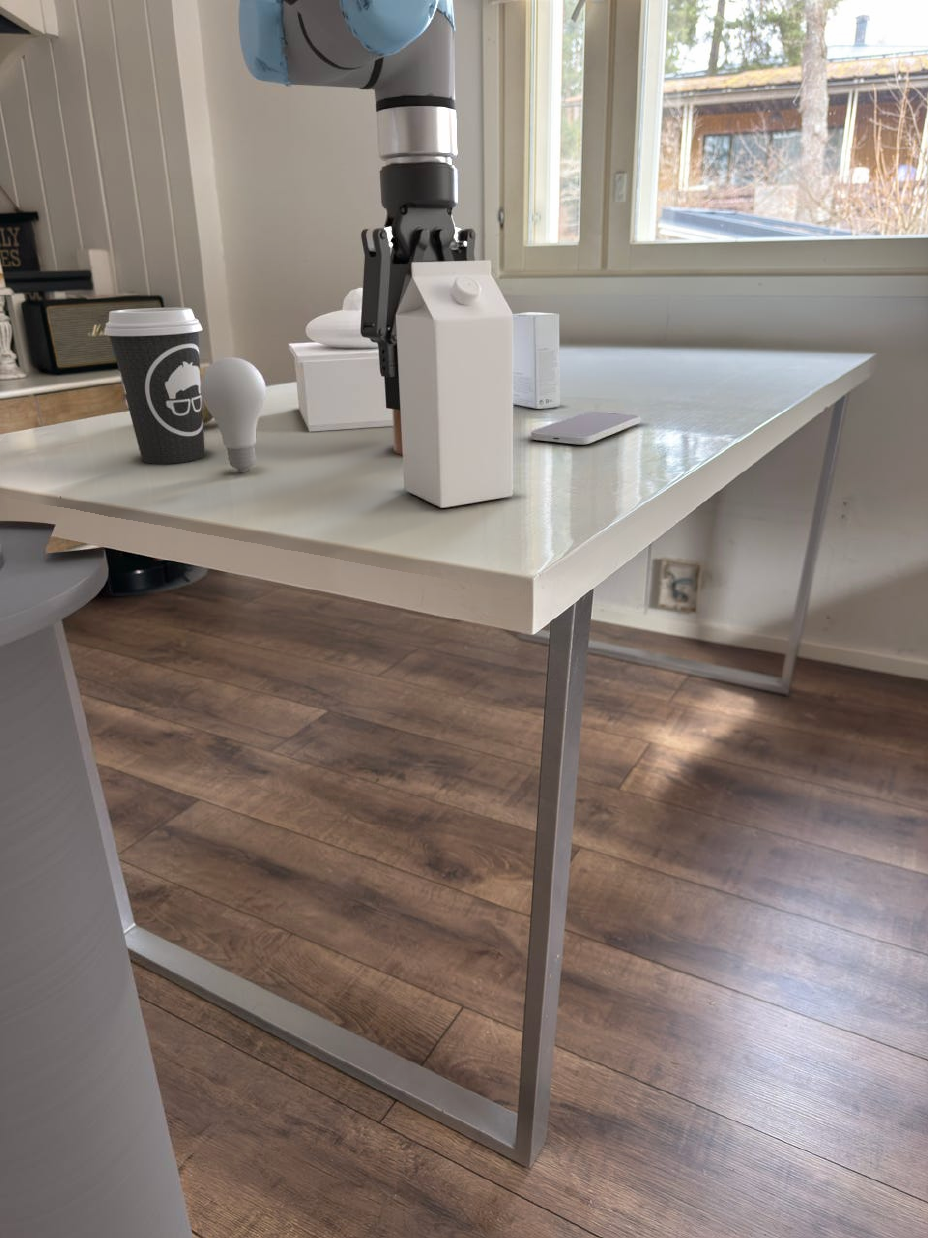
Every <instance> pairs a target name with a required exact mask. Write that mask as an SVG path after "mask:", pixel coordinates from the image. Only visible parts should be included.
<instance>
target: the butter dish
mask: <svg viewBox="0 0 928 1238" xmlns="http://www.w3.org/2000/svg"><path fill="white" fill-rule="evenodd" d="M362 294H363V287H357V288H355V289H351V290H350V291H349V292H348V293H347V294H346V296H345V297H344V299H343V303H342V309H340V310H334V311H331V312H328V313H325V314H322V315H319V316H317V317H315V318H314V319H312V320H310V321H309V322H308V323H307V325H306V327H305V334H306V336H307V338H309V339H310V340H312V342H295V343H294V342H293V343H288V350H289V351H290V353H291V355H292V356H293V361H294V371H295V379H296V391H297V401H298V410H299V412H300V415H301V417H302V419H303V421H304V423H305V425H306V427H307V430H308V432H309V433H311V432H322V431H336V430H339V431H340V430H353V429H367V428H368V429H369V428H381V427H393V418H392V409H388V408H386V398H385V380H384V377H383V376H381V373H380V365H379V362H380V361H379V349H378V344H377V343H374V342H372V341H371V340H370V338H365V337H363V336H362V335H361V332H360V328H361V311H362Z"/></svg>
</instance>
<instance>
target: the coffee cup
mask: <svg viewBox="0 0 928 1238" xmlns="http://www.w3.org/2000/svg"><path fill="white" fill-rule="evenodd" d="M201 331H203V327H202V323H200V321H199V319H198V318H196V317H195V314H194V311H193V309H192V308H191V307H149V308H147V307H146V308H131V309H130V308H127V309H116V310H111V311H109V313H108V322H106V323H105V327H104V332H103V333H104V336H108V337H109V339H110V343H111V347H112V349H113V353H114V359H115V361H116V366H117V369H118V372H119V376H120V377H119V378H120V380H121V385H122V388H123V391H124V396H125V399H126V403H127V407H128V411H129V415H130V419H131V422H132V426H133V430H134V434H135V438H136V442H137V445H138V450H139V453H140V458H141V461H142V462H144V463H147V464H154V465H170V464H172V465H173V464H180V463H181V464H182V463H188V462H192V461H196V460H199V459H202V458H203V457H205V451H206V449H205V436H204V435H205V433H204V423H203V413H202V396H201V391H200V385H201V376H200V366H201V359H200V338H199V337H200V334H199V332H201Z"/></svg>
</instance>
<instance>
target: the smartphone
mask: <svg viewBox="0 0 928 1238" xmlns="http://www.w3.org/2000/svg"><path fill="white" fill-rule="evenodd" d="M640 423H641V415H639V414H634V413H633V414H632V413H622V412H612V411H611V412H610V411H597V410H589V411H584V412H581V413H579V414H576V415H573V416H570V417H567V418H564V419H561V420H559V421H558V420H557V421H556V422H553V423H550V424H547V425H544V426H542V427H538V428H536V429H533V430H531V431H530V439H531V440H534V441H535V440H536V441H543V442H551V443H552V442H553V443H561V444H571V445H588V444H592V443H594V442H596V441H597V442H598V441H599V440H601V439H604V438H606V437H608V436H611V435H614V434H617V433H619V432H621V431H623V430H626V429H628V428H630V427H633V426H635V425H638V424H640Z"/></svg>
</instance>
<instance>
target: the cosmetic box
mask: <svg viewBox="0 0 928 1238" xmlns="http://www.w3.org/2000/svg"><path fill="white" fill-rule="evenodd" d="M560 368H561V367H560V313H553V312H538V311H537V312H536V311H535V312H533V311H528V312H520V313H519V312H518V313H513V405H515V406H521V407H525V408H530V409H536V410H544V409H553V408H559V407H560V404H561V390H560V389H561V382H560V380H561V379H560V378H561V377H560V374H561V373H560Z"/></svg>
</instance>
